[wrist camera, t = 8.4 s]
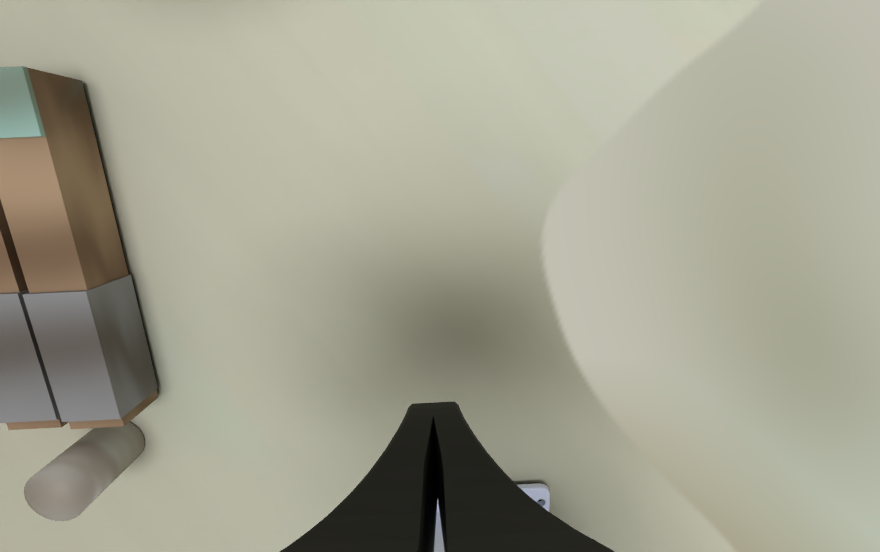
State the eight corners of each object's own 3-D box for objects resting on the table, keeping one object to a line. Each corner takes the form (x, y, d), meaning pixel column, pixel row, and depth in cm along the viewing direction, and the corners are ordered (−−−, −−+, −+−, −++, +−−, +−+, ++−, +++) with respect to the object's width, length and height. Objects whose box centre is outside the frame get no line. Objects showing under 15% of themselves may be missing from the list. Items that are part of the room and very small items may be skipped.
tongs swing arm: (160, 397, 22) (123, 428, 19) (109, 399, 22) (65, 431, 19) (84, 80, 18) (24, 66, 15) (22, 83, 18) (-48, 69, 15)
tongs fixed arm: (149, 459, 23) (92, 519, 19) (72, 463, 23) (0, 524, 19) (53, 83, 18) (-50, 60, 14) (-44, 87, 18) (-175, 66, 14)
